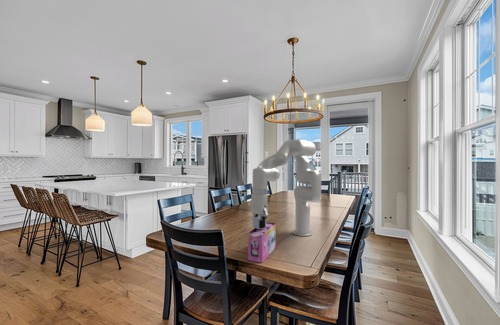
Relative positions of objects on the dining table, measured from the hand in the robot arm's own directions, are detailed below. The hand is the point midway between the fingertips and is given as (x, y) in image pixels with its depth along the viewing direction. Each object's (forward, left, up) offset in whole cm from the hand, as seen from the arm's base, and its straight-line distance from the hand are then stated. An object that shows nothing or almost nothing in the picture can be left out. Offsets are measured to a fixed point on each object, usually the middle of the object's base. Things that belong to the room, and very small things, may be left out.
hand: (259, 226), depth 125 cm
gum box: (0, +2, -14) cm, 15 cm away
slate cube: (0, 0, -1) cm, 1 cm away
